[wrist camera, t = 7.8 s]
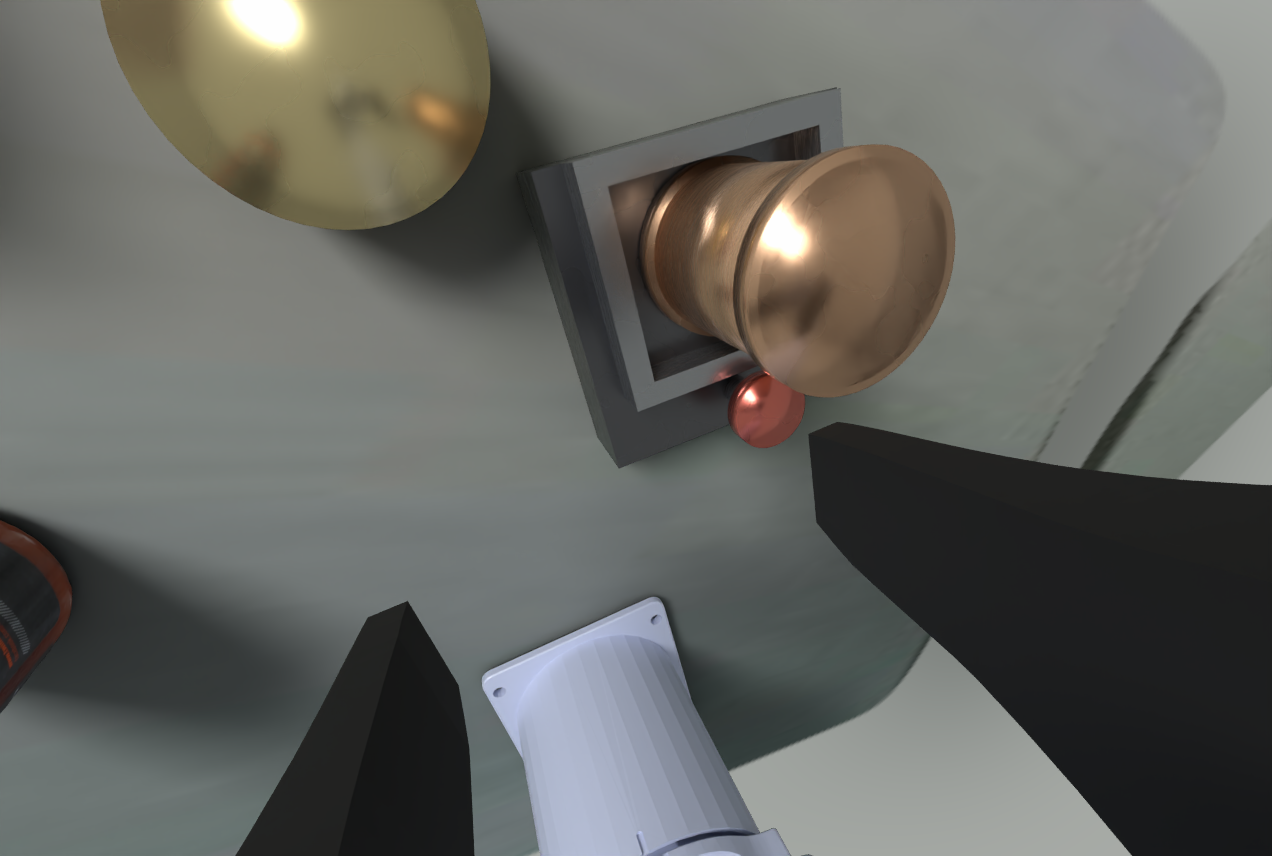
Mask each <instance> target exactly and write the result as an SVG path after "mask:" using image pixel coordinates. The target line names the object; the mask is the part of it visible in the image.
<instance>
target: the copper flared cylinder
mask: <svg viewBox="0 0 1272 856" xmlns="http://www.w3.org/2000/svg"><path fill="white" fill-rule="evenodd" d="M954 254H955V228H954V219H953V214H952V209H951V205H950V202H949V199H948V196H947V194H946V192H945V190H944V188H943V186H942V184H941V182H940V180H939V179H938V177H937V176H936V174H935V173H934V172H933V170H932V169H931V168H930V167H929V166H928V165H927V164H926V163H925V162H924V161H923V160H921V159H920V158H918V157H917V156H915V155H914V154H912V153H910V152H908V151H906V150H903V149H901V148H898V147H893V146H889V145H859V146H848V147H841V148H835V149H832V150H829V151H825V152H822V153H820V154H818V155H816V156H814V157H812V158H810V159H808V160H795V161H774V162H761V161H758V160H756V159H753V158H750V157H745V156H737V155H727V156H716V157H709V158H705V159H702V160H699V161H696V162H694V163H692V164H690V165H688V166H686V167H685V168H683V169H682V170H680V171H679V172H678V173H676V174H675V175H674V176H673V177H672V178H671V179H670V180H669V181H668V182H667V183H666V184H665V185H664V186H663V187H662V189H661V190H660V191H659V193H658V194H657V196H656V197H655V199H654V201H653V203H652V204H651V206H650V208H649V210H648V213H647V216H646V218H645V221H644V225H643V229H642V233H641V239H640V266H641V272H642V276H643V281H644V283H645V286H646V289H647V291H648V293H649V295H650V297H651V299H652V300H653V302H654V303H655V305H656V306H657V307H658V309H659V310H660V311H661V312H662V313H663V314H664V315H665V316H666V317H668V318H669V319H670V320H672V321H673V322H675V323H676V324H678V325H680V326H682V327H684V328H685V329H687V330H689V331H691V332H694V333H697V334H700V335H705V336H715V337H717V338H719V339H720V340H722V341H724V342H726V343H728V344H730V345H732V346H734V347H735V348H737V349H739V350H741V351H743V352H745V353H747V354H748V355H750V356H751V358H752V359H753V361H754V362H755V363H756V364H757V365H758V366H759V367H760V368H761V369H762V370H763V371H764V372H765V373H767V374H768V375H769V376H770V377H772V378H774V379H776V380H777V381H779V382H781V383H783V384H784V385H786V386H788V387H790V388H792V389H793V390H795V391H797V392H800V393H803V394H806V395H809V396H815V397H839V396H845V395H848V394H852V393H856V392H858V391H861V390H863V389H865V388H868V387H870V386H872V385H873V384H875V383H877V382H879V381H880V380H882V379H883V378H885V377H886V376H887V375H889V374H890V373H892V372H893V371H894V370H895V369H896V368H897V367H898V366H900V365H901V364H902V363H903V362H904V361H905V360H906V359H907V358H908V357H909V356H910V354H911V353H912V352H913V351H914V350H915V349H916V347H917V346H918V345H919V343H920V342H921V341H922V340H923V338H924V336H925V335H926V333H927V332H928V330H929V329H930V327H931V325H932V324H933V322H934V320H935V318H936V316H937V314H938V312H939V310H940V307H941V305H942V303H943V300H944V298H945V295H946V292H947V289H948V286H949V282H950V278H951V273H952V269H953V262H954Z"/></svg>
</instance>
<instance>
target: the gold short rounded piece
mask: <svg viewBox="0 0 1272 856" xmlns="http://www.w3.org/2000/svg"><path fill="white" fill-rule="evenodd" d="M101 6H102V11H103V15H104V19H105V23H106V28H107V32H108V35H109V38H110V41H111V43H112V46H113V49H114V52H115V54H116V57H117V60H118V62H119V64H120V66H121V68H122V70H123V72H124V74H125V76H126V78H127V80H128V82H129V84H130V86H131V88H132V90H133V92H134V93H135V95H136V97H137V98H138V100H139V101H140V103H141V104H142V106H143V107H144V109H145V111H146V112H147V114H148V115H149V117H150V118H151V119H152V120H153V122H154V123H155V124H156V125H157V127H158V128H159V129H160V130H161V132H162V133H163V134H164V135H165V137H166V138H167V139H168V140H169V141H170V142H171V143H172V144H173V145H174V146H175V147H176V149H177V150H178V151H179V152H180V153H181V154H182V155H183V156H184V157H185V158H186V159H187V160H188V161H189V162H190V163H192V164H193V165H194V166H195V167H196V168H198V169H199V170H200V171H201V172H202V173H204V174H205V175H206V176H207V177H208V178H210V179H211V180H212V181H214V182H215V183H217V184H218V185H219V186H221V187H222V188H224V189H225V190H227V191H228V192H230V193H231V194H233V195H234V196H236V197H238V198H240V199H242V200H243V201H245V202H247V203H249V204H251V205H253V206H254V207H256V208H258V209H261V210H263V211H266V212H268V213H270V214H273V215H275V216H277V217H280V218H283V219H286V220H290V221H293V222H296V223H300V224H303V225H308V226H314V227H320V228H325V229H339V230H357V229H371V228H375V227H380V226H385V225H390V224H393V223H396V222H399V221H401V220H404V219H407V218H410V217H412V216H413V215H415V214H417V213H419V212H421V211H423V210H425V209H427V208H428V207H429V206H431V205H432V204H433V203H435V202H436V201H437V200H439V199H440V198H442V197H443V196H444V195H445V194H446V193H447V192H448V191H449V190H450V189H451V188H452V187H453V186H454V185H455V184H456V182H457V181H458V180H459V178H460V177H461V176H462V174H463V173H464V172H465V170H466V169H467V167H468V165H469V163H470V162H471V160H472V158H473V156H474V154H475V152H476V150H477V148H478V145H479V142H480V140H481V137H482V134H483V132H484V127H485V123H486V119H487V114H488V109H489V99H490V61H489V53H488V46H487V40H486V36H485V31H484V27H483V23H482V19H481V16H480V13H479V10H478V7H477V4H476V1H475V0H101Z"/></svg>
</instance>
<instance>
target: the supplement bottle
mask: <svg viewBox="0 0 1272 856" xmlns="http://www.w3.org/2000/svg"><path fill="white" fill-rule="evenodd" d="M71 607H72V588H71V585H70V583H69V581H68V578H67V575H66V572H65V571H64V569H63V568H62V566H61V565H60V563H59V562H58V561H57V560H56V558H55V557H54V556H53V555H52V554H51V553H50V552H49V551H48V550H47V549H46V548H45V547H44V546H43V545H42V544H41V543H40V542H39V541H37V540H36V539H35V538H33V537H32V536H30V535H28V534H27V533H25V532H24V531H22V530H20V529H18V528H16V527H15V526H12V525H9V524H7V523H5V522H3V521H1V520H0V713H1V712H2V711H3V710H4V709H5V707H6V706H7V705H8V704H9V702H10V701H11V699H12V698H13V697H14V696H15V694H16V693H17V692H18V691H19V690H20V688H21V687H22V685H23V684H24V683H25V682H26V681H27V679H28V678H29V677H30V675H31V674H32V673H33V672H34V670H35V669H36V668H37V666H38V665H39V664H40V663H41V661H42V660H43V659H44V658H45V657H46V655H47V653H48V652H49V651H50V649H51V648H52V646H53V644H54V643H55V642H56V640H57V639H58V637H59V636H60V635H61V633H62V632H63V630H64V628H65V626H66V624H67V621H68V619H69V616H70V612H71Z"/></svg>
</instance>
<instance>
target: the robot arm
mask: <svg viewBox="0 0 1272 856" xmlns="http://www.w3.org/2000/svg"><path fill="white" fill-rule="evenodd" d="M808 435H809V446H810V457H811V467H812V478H813V489H814V500H815V510H816V521H817V524H818V525H819V526H820V527H821V528H822V530H823V531H824V532H825V533H826V534H827V536H828V537H829V538H830V539H831V541H832V542H833V543H834V544H835V545H836V547H837V548H838V549H839V550H840V551H841V552H842V553H843V555H844V556H845V557H846V558H847V559H848V560H849V561H850V562H851V564H852V565H853V566H854V567H855V568H857V569H858V570H859V571H860V572H861V573H862V574H863V575H864V576H865V577H866V578H867V579H868V580H869V581H871V582H872V583H873V584H874V585H875V586H876V587H877V588H878V589H879V590H880V591H881V592H883V593H884V594H885V595H886V596H887V597H888V598H889V599H890V600H891V601H892V602H894V603H895V604H896V605H897V606H898V607H899V608H900V609H901V610H903V611H904V612H905V613H906V614H907V615H908V616H909V617H910V618H911V619H913V620H914V621H915V622H916V623H917V624H918V625H919V626H920V627H921V628H923V629H924V630H925V631H926V632H927V633H928V634H929V635H930V636H931V637H933V638H934V639H935V640H936V641H937V642H938V643H939V644H940V645H941V646H943V647H944V648H945V649H946V650H947V651H948V652H949V653H950V654H952V655H953V656H954V657H955V658H956V659H957V660H958V661H959V662H960V663H961V664H962V665H963V666H964V667H965V668H966V669H967V670H968V671H969V672H970V673H971V674H972V675H974V677H975V678H976V679H977V680H978V681H979V682H980V683H981V684H982V685H983V686H984V687H985V688H986V689H987V690H988V691H989V693H990V694H991V695H992V696H993V697H994V698H995V699H996V700H997V701H998V702H999V703H1000V704H1001V705H1002V707H1004V709H1005V710H1006V711H1007V712H1008V713H1009V714H1010V715H1011V716H1012V717H1013V718H1014V719H1015V720H1016V722H1017V723H1018V724H1019V725H1020V726H1021V727H1022V728H1023V729H1024V730H1025V731H1026V733H1027V734H1028V735H1029V736H1030V737H1031V738H1032V739H1033V740H1034V742H1035V743H1036V744H1037V745H1038V746H1039V747H1040V748H1041V750H1042V751H1043V752H1044V753H1045V754H1046V755H1047V756H1048V757H1049V759H1050V760H1051V761H1052V762H1053V763H1054V764H1055V765H1056V767H1057V768H1058V769H1059V770H1060V771H1061V772H1062V773H1063V774H1064V776H1065V777H1066V778H1067V779H1068V780H1069V781H1070V782H1071V784H1072V785H1073V786H1074V787H1075V788H1076V789H1077V790H1078V792H1079V793H1080V794H1081V795H1082V796H1083V798H1084V799H1085V800H1086V801H1087V802H1088V804H1089V805H1090V806H1091V807H1092V808H1093V810H1094V811H1095V812H1096V813H1097V814H1098V815H1099V817H1100V818H1101V819H1102V820H1103V821H1104V823H1105V824H1106V825H1107V826H1108V827H1109V829H1110V830H1111V831H1112V832H1113V833H1114V835H1115V836H1116V837H1117V838H1118V839H1119V841H1120V842H1121V843H1122V844H1123V845H1124V847H1125V848H1126V849H1127V850H1128V851H1129V853H1130V854H1131V855H1132V856H1272V485H1251V484H1237V483H1221V482H1205V481H1190V480H1178V479H1166V478H1155V477H1145V476H1136V475H1128V474H1119V473H1111V472H1102V471H1094V470H1085V469H1078V468H1072V467H1065V466H1058V465H1051V464H1046V463H1040V462H1034V461H1029V460H1023V459H1017V458H1011V457H1006V456H1000V455H995V454H990V453H985V452H980V451H975V450H970V449H965V448H961V447H956V446H951V445H947V444H942V443H938V442H933V441H929V440H924V439H920V438H915V437H911V436H906V435H902V434H897V433H893V432H888V431H884V430H879V429H874V428H869V427H864V426H859V425H854V424H848V423H841V422H836V423H834V424H831V425H829V426H827V427H824V428H822V429H819V430H817V431H815V432H812V433H810V434H808ZM655 615H657V616H656V617H655V618H652V617H653V616H655ZM482 686H483V690H484V692H485V693H486V695H487V697H488V699H489V700H490V702H491V704H492V706H493V707H494V709H495V711H496V713H497V714H498V716H499V718H500V720H501V721H502V723H503V725H504V727H505V729H506V730H507V732H508V734H509V736H510V737H511V739H512V741H513V743H514V744H515V746H516V748H517V750H518V751H519V753H520V755H521V757H522V758H523V760H524V766H525V771H526V777H527V783H528V788H529V794H530V799H531V805H532V811H533V816H534V822H535V828H536V833H537V839H538V845H539V850H540V856H791V855H790V853H789V851H788V849H787V848H786V846H785V844H784V842H783V840H782V839H781V837H780V835H779V833H778V831H777V829H775V828H771V829H769V830H767V831H765V832H761V833H760V832H759V830H758V828H757V826H756V824H755V822H754V820H753V818H752V816H751V814H750V812H749V811H748V809H747V807H746V805H745V803H744V801H743V799H742V797H741V795H740V793H739V791H738V789H737V788H736V785H735V784H734V782H733V780H732V778H731V776H730V774H729V772H728V770H727V768H726V766H725V764H724V762H723V760H722V758H721V757H720V755H719V753H718V751H717V749H716V747H715V745H714V743H713V741H712V739H711V737H710V735H709V733H708V731H707V730H706V728H705V726H704V724H703V722H702V720H701V718H700V716H699V714H698V712H697V710H696V708H695V706H694V705H693V703H692V700H691V696H690V693H689V690H688V686H687V683H686V679H685V676H684V673H683V669H682V666H681V662H680V659H679V655H678V652H677V649H676V645H675V642H674V638H673V635H672V632H671V628H670V625H669V621H668V618H667V614H666V611H665V608H664V605H663V603H662V602H661V600H660V599H659V598H658V597H650V598H647V599H645V600H643V601H641V602H639V603H636V604H634V605H632V606H630V607H628V608H625V609H623V610H621V611H619V612H617V613H614V614H612V615H610V616H608V617H606V618H603V619H601V620H599V621H597V622H595V623H592V624H590V625H588V626H586V627H584V628H581V629H579V630H577V631H575V632H573V633H570V634H568V635H566V636H564V637H562V638H559V639H557V640H555V641H553V642H551V643H548V644H546V645H544V646H542V647H540V648H537V649H535V650H533V651H531V652H529V653H526V654H524V655H522V656H520V657H518V658H515V659H513V660H511V661H509V662H507V663H504V664H502V665H500V666H498V667H496V668H493V669H491V670H489V671H488V672H486V673H485V674H484V675H483V677H482ZM501 687H502V688H501ZM497 688H501V689H499V690H496V689H497ZM236 856H474V836H473V813H472V792H471V772H470V754H469V744H468V737H467V731H466V725H465V719H464V713H463V708H462V702H461V696H460V691H459V685H458V684H457V682H456V680H455V679H454V677H453V675H452V674H451V672H450V670H449V669H448V667H447V665H446V664H445V662H444V660H443V659H442V657H441V655H440V654H439V652H438V650H437V649H436V647H435V645H434V644H433V642H432V640H431V639H430V637H429V636H428V634H427V632H426V631H425V629H424V627H423V626H422V624H421V622H420V621H419V619H418V617H417V616H416V614H415V612H414V611H413V609H412V607H411V606H410V604H409V602H408V601H406V602H404V603H402V604H399V605H397V606H394V607H392V608H390V609H387V610H385V611H382V612H380V613H378V614H375V615H373V616H370V617H368V618H367V620H366V622H365V624H364V626H363V627H362V629H361V631H360V633H359V635H358V637H357V639H356V641H355V643H354V645H353V647H352V648H351V650H350V652H349V654H348V656H347V658H346V660H345V662H344V664H343V666H342V668H341V670H340V672H339V674H338V676H337V677H336V679H335V681H334V683H333V685H332V687H331V689H330V691H329V693H328V695H327V697H326V699H325V701H324V702H323V704H322V706H321V708H320V710H319V712H318V714H317V716H316V717H315V719H314V721H313V723H312V725H311V727H310V729H309V730H308V732H307V734H306V736H305V738H304V740H303V742H302V743H301V745H300V747H299V749H298V751H297V753H296V754H295V756H294V758H293V760H292V761H291V763H290V765H289V766H288V768H287V770H286V772H285V773H284V775H283V777H282V778H281V780H280V782H279V783H278V785H277V787H276V789H275V790H274V792H273V794H272V795H271V797H270V799H269V801H268V802H267V804H266V806H265V807H264V809H263V811H262V812H261V814H260V816H259V818H258V819H257V821H256V823H255V824H254V826H253V828H252V829H251V831H250V833H249V835H248V836H247V838H246V840H245V841H244V843H243V844H242V846H241V848H240V849H239V851H238V852H237V854H236ZM803 856H812V855H809V854H808V855H803Z"/></svg>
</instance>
